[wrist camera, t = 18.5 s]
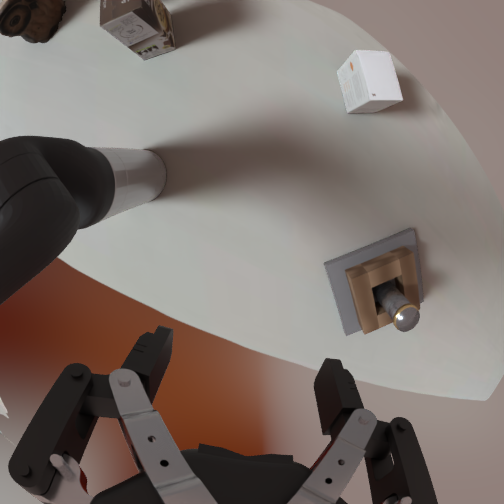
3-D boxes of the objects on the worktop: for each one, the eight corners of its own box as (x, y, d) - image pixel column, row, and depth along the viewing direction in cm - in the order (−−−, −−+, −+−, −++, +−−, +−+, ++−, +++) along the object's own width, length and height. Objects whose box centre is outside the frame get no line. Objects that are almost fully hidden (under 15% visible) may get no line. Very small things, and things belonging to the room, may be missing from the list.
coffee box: (177, 49, 35) (142, 7, 20) (143, 61, 36) (98, 28, 20) (172, 13, 32) (140, -31, 17) (139, 25, 33) (99, -13, 18)
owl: (67, -5, 27) (21, -32, 8) (75, 19, 31) (21, -10, 12) (31, 29, 29) (-18, 12, 10) (36, 55, 33) (-21, 40, 14)
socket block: (358, 322, 48) (364, 334, 45) (344, 269, 45) (351, 279, 41) (411, 299, 47) (420, 309, 43) (403, 245, 43) (413, 252, 40)
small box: (375, 113, 38) (404, 102, 28) (345, 114, 38) (369, 101, 28) (365, 70, 35) (390, 50, 25) (335, 70, 36) (355, 48, 26)
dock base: (344, 331, 51) (346, 336, 49) (323, 262, 46) (325, 266, 45) (420, 298, 48) (423, 301, 47) (410, 227, 44) (414, 229, 42)
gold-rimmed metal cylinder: (372, 300, 47) (397, 337, 35) (367, 281, 46) (394, 315, 34) (392, 291, 46) (421, 325, 35) (388, 271, 45) (419, 303, 34)
